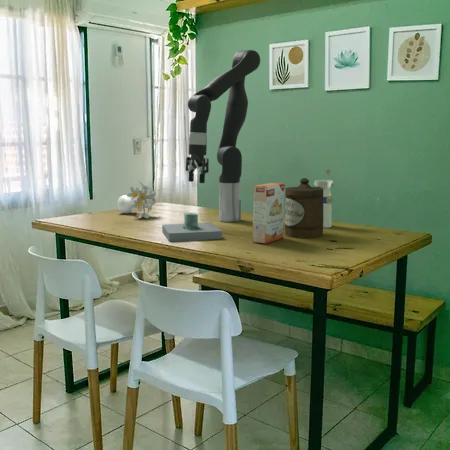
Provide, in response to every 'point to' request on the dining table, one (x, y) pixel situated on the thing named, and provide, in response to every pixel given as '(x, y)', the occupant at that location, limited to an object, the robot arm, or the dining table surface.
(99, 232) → the dining table surface
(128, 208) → the flower vase
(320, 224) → the wooden container
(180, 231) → the pocket plate
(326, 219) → the white spray bottle
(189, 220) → the teal block
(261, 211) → the cracker box
